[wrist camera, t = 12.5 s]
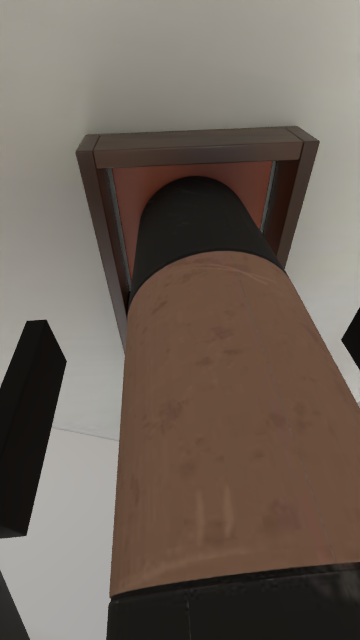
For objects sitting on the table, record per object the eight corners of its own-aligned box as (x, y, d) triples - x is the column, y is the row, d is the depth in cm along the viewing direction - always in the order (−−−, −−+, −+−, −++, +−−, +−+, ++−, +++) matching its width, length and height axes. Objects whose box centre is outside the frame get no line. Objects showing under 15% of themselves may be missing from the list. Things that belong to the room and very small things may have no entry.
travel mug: (274, 205, 19) (661, 756, 5) (210, 290, 23) (305, 698, 9) (166, 143, 16) (296, 1111, 2) (118, 254, 20) (44, 767, 6)
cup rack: (137, 375, 31) (135, 401, 29) (85, 134, 15) (75, 151, 13) (243, 367, 31) (250, 392, 29) (298, 125, 16) (320, 140, 14)
